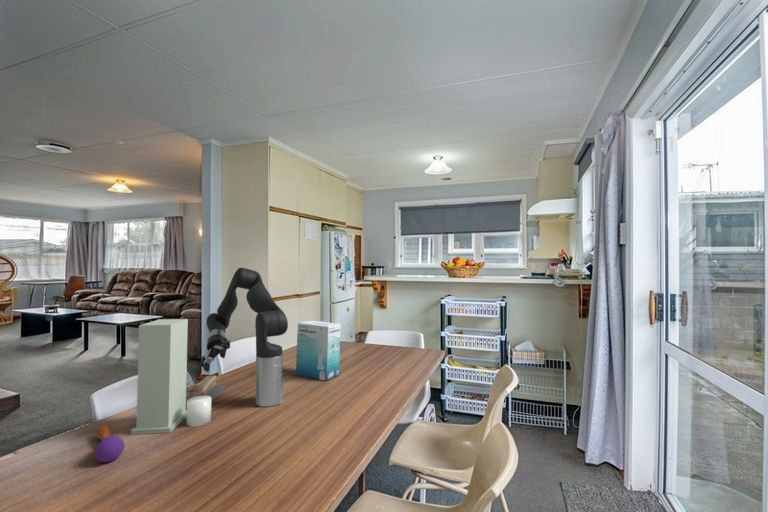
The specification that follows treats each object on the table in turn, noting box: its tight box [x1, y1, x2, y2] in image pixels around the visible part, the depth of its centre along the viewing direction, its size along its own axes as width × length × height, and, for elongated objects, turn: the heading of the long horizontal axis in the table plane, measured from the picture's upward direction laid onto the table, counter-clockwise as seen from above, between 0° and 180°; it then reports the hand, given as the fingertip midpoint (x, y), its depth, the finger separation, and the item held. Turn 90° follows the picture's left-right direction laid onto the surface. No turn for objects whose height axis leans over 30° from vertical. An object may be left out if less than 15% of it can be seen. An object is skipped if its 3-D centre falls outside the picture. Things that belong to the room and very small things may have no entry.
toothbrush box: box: [295, 320, 342, 382], centre depth 161 cm, size 18×10×24 cm, turn 63°
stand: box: [130, 318, 189, 435], centre depth 112 cm, size 11×14×32 cm
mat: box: [186, 385, 226, 410], centre depth 133 cm, size 10×22×1 cm, turn 7°
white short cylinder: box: [185, 396, 212, 427], centre depth 113 cm, size 7×7×7 cm
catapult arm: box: [186, 375, 217, 403], centre depth 136 cm, size 4×20×4 cm, turn 7°
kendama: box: [94, 424, 125, 463], centre depth 96 cm, size 6×6×20 cm
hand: (214, 363), depth 147 cm, fingers open, 8 cm apart
